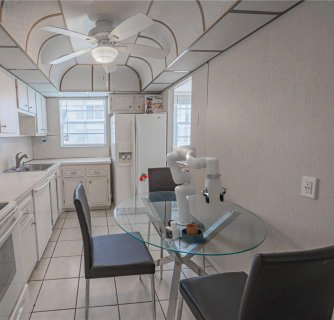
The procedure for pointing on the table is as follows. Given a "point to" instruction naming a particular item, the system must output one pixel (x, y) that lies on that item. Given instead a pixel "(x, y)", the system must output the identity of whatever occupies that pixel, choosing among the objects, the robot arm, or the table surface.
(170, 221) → the medicine bottle
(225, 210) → the table surface
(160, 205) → the table surface
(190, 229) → the orange mug
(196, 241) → the dark teal bowl
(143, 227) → the table surface
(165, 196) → the table surface
